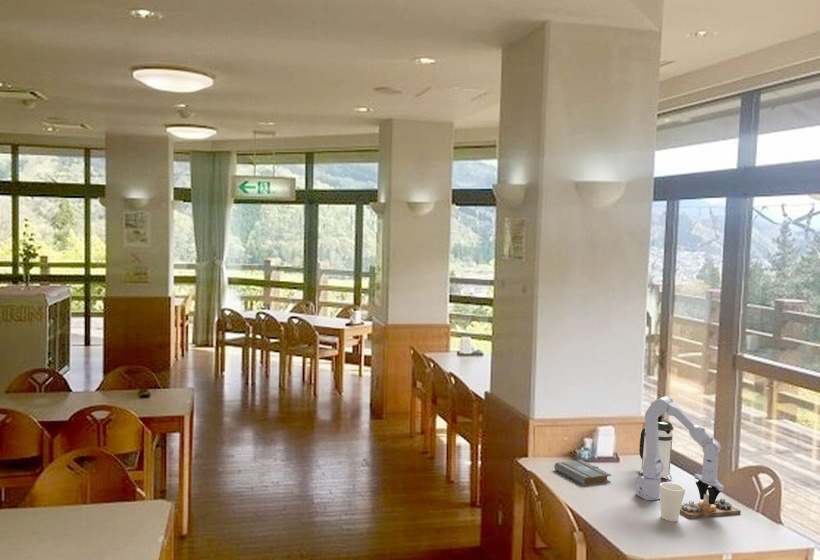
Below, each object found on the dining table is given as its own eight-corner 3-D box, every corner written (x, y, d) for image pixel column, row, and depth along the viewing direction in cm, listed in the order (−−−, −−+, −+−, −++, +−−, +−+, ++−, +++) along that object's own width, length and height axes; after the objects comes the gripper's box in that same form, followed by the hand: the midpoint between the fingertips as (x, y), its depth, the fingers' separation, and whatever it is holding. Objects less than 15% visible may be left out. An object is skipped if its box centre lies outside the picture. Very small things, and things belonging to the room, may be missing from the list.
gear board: (689, 518, 278) (689, 512, 278) (672, 509, 287) (672, 502, 287) (740, 514, 286) (740, 507, 286) (722, 504, 296) (722, 498, 295)
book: (553, 471, 328) (554, 461, 328) (581, 468, 335) (582, 458, 334) (582, 486, 309) (583, 476, 309) (611, 483, 316) (612, 472, 315)
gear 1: (689, 513, 280) (690, 505, 279) (678, 506, 286) (678, 499, 286) (703, 511, 282) (704, 504, 282) (691, 505, 288) (692, 498, 288)
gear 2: (721, 510, 285) (722, 503, 285) (709, 503, 291) (709, 497, 291) (734, 509, 287) (735, 502, 287) (722, 502, 294) (723, 495, 293)
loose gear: (706, 511, 282) (707, 498, 282) (694, 505, 289) (695, 492, 288) (719, 510, 285) (720, 497, 284) (707, 504, 291) (708, 491, 291)
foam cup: (670, 524, 271) (672, 492, 270) (652, 515, 279) (654, 483, 278) (687, 521, 275) (689, 489, 274) (668, 512, 283) (671, 481, 283)
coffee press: (675, 475, 330) (680, 414, 329) (667, 484, 317) (673, 420, 315) (638, 467, 340) (643, 407, 338) (629, 476, 326) (634, 413, 324)
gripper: (730, 475, 280) (728, 507, 281) (705, 463, 294) (702, 494, 295) (717, 475, 278) (714, 508, 279) (691, 464, 292) (688, 495, 292)
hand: (707, 501), depth 286 cm, fingers open, 4 cm apart
